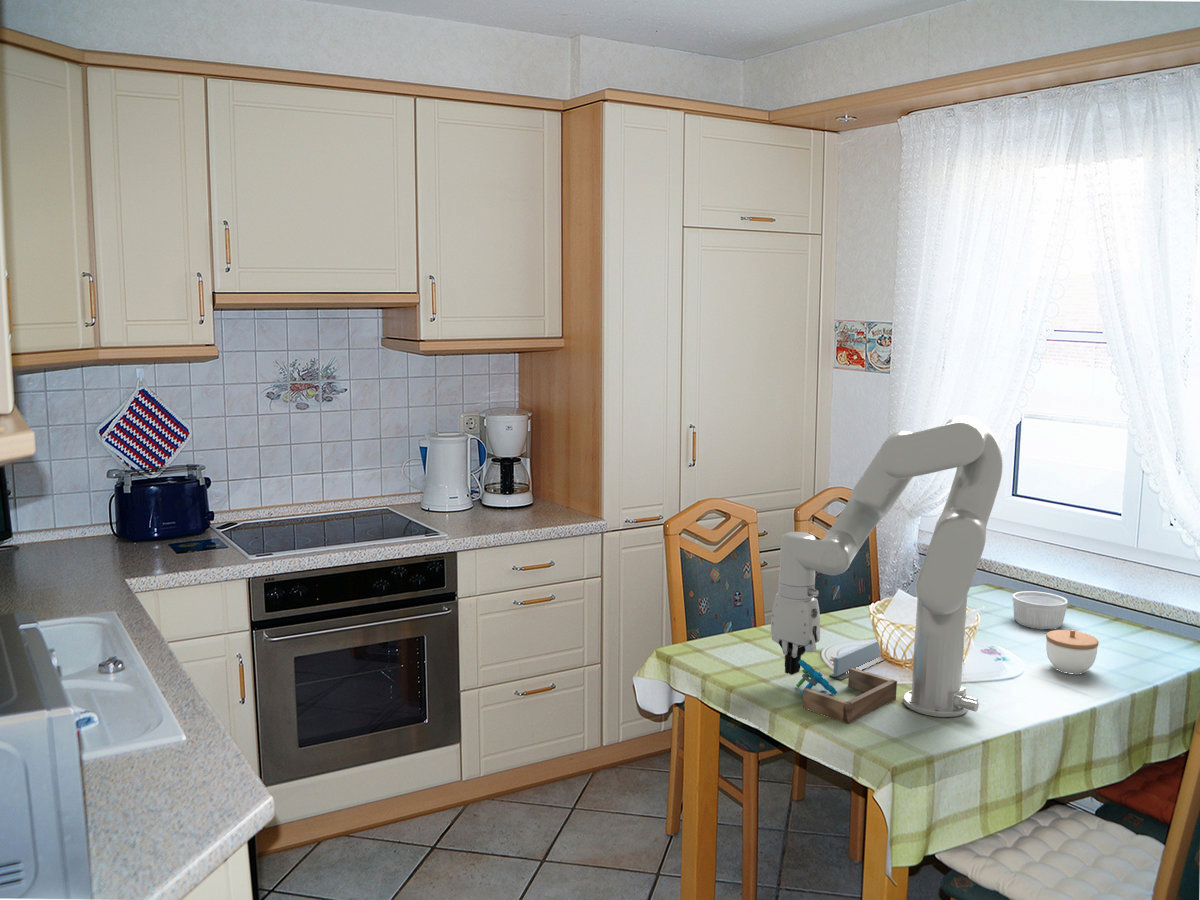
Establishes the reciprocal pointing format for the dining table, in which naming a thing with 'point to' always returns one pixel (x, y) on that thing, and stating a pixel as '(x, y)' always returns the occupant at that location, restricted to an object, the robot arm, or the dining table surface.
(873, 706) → the frame
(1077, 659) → the lidded jar
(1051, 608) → the ramekin
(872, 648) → the gate
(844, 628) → the dining table surface
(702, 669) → the dining table surface
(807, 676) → the blue toy model
